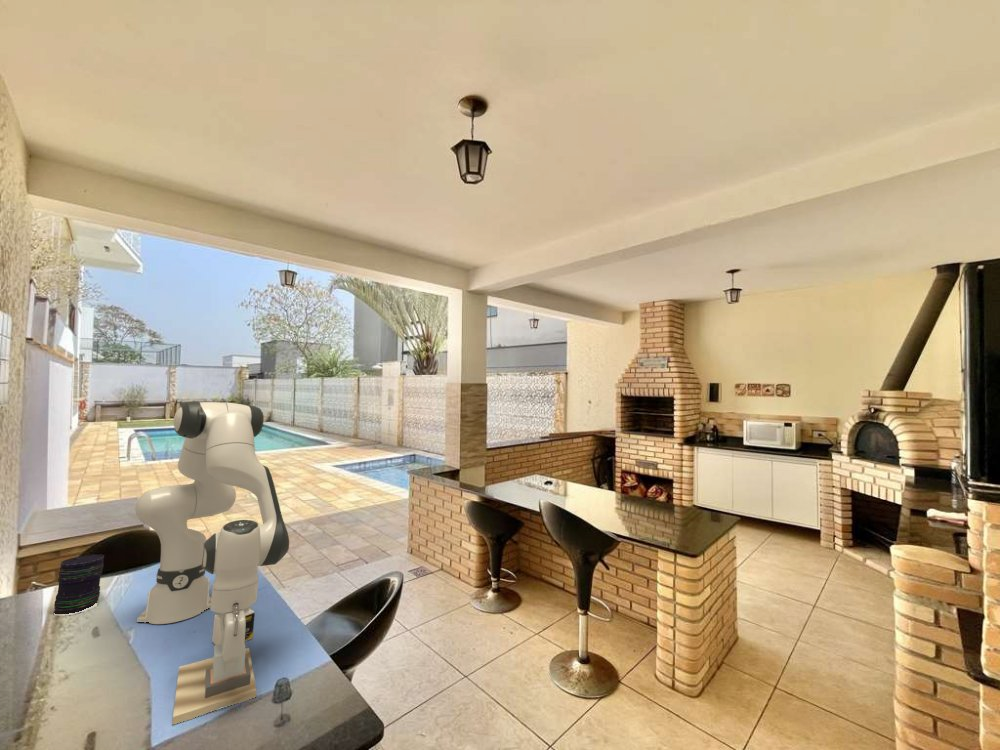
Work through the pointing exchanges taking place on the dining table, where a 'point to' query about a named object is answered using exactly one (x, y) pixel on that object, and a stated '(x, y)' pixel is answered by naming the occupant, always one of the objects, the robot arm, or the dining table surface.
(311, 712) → the dining table surface
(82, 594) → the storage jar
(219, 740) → the dining table surface
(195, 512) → the robot arm
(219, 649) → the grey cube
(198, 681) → the board
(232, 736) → the dining table surface
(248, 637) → the medicine bottle
